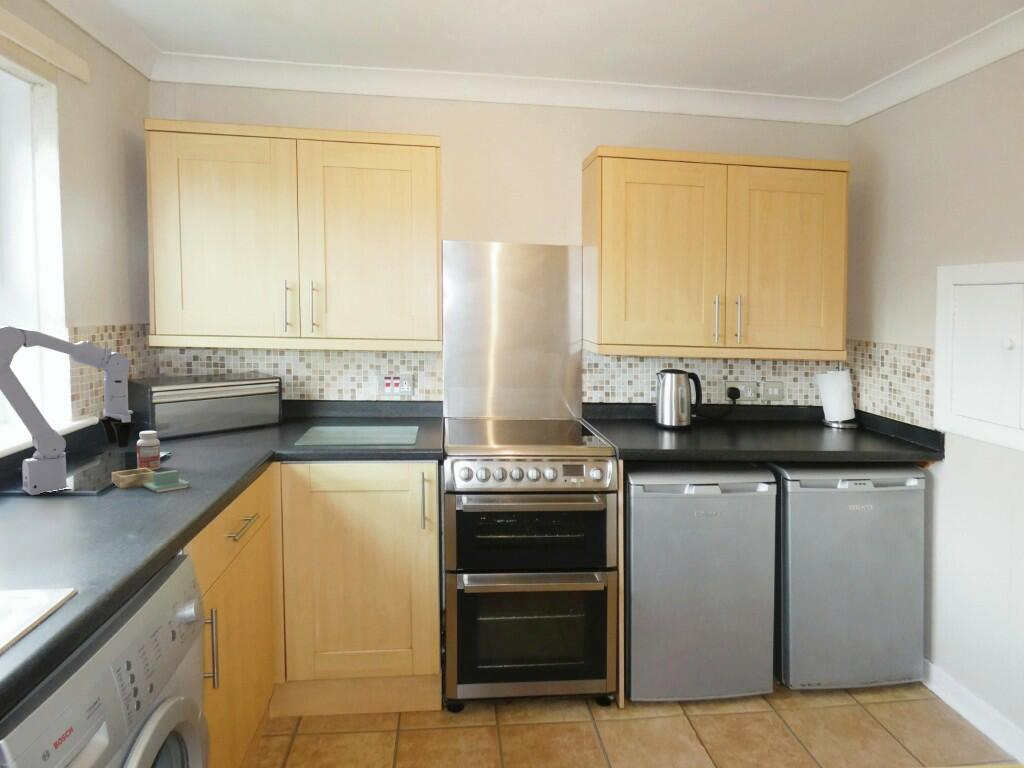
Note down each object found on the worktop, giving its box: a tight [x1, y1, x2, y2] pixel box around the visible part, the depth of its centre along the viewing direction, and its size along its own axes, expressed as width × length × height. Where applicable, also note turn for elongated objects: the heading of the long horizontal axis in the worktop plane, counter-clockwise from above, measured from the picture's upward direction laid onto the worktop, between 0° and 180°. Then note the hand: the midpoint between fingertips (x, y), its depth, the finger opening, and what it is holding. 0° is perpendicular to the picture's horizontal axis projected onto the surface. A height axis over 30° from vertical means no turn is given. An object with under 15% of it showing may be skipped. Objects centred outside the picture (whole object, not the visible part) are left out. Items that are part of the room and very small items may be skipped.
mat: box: [154, 485, 189, 493], centre depth 200 cm, size 8×8×1 cm
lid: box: [142, 469, 190, 492], centre depth 199 cm, size 9×7×4 cm
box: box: [111, 468, 157, 490], centre depth 202 cm, size 9×7×3 cm
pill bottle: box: [136, 430, 161, 471], centre depth 219 cm, size 6×6×11 cm
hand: (117, 444), depth 203 cm, fingers open, 7 cm apart
